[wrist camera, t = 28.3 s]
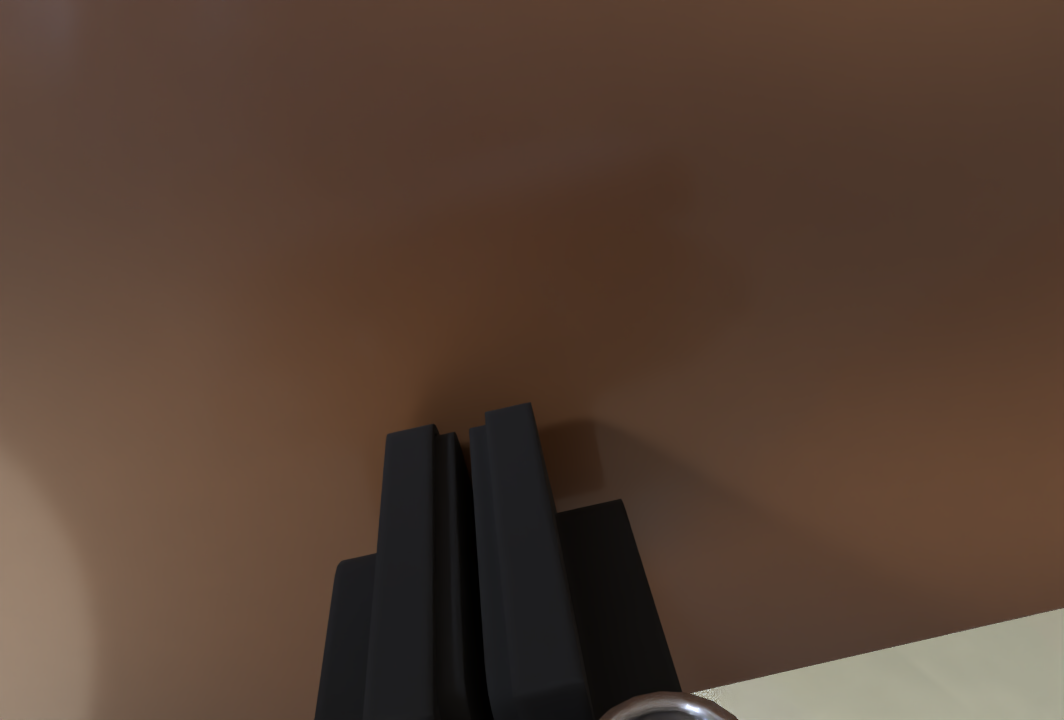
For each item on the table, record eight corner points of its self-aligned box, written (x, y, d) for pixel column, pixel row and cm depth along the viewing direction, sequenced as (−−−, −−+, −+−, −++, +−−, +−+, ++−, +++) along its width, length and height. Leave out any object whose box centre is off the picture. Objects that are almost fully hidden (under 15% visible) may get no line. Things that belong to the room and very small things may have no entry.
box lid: (1136, 549, 13) (1179, 583, 12) (51, 797, 13) (26, 847, 12) (1296, -1040, 7) (1402, -1168, 6) (-797, -568, 6) (-953, -637, 6)
